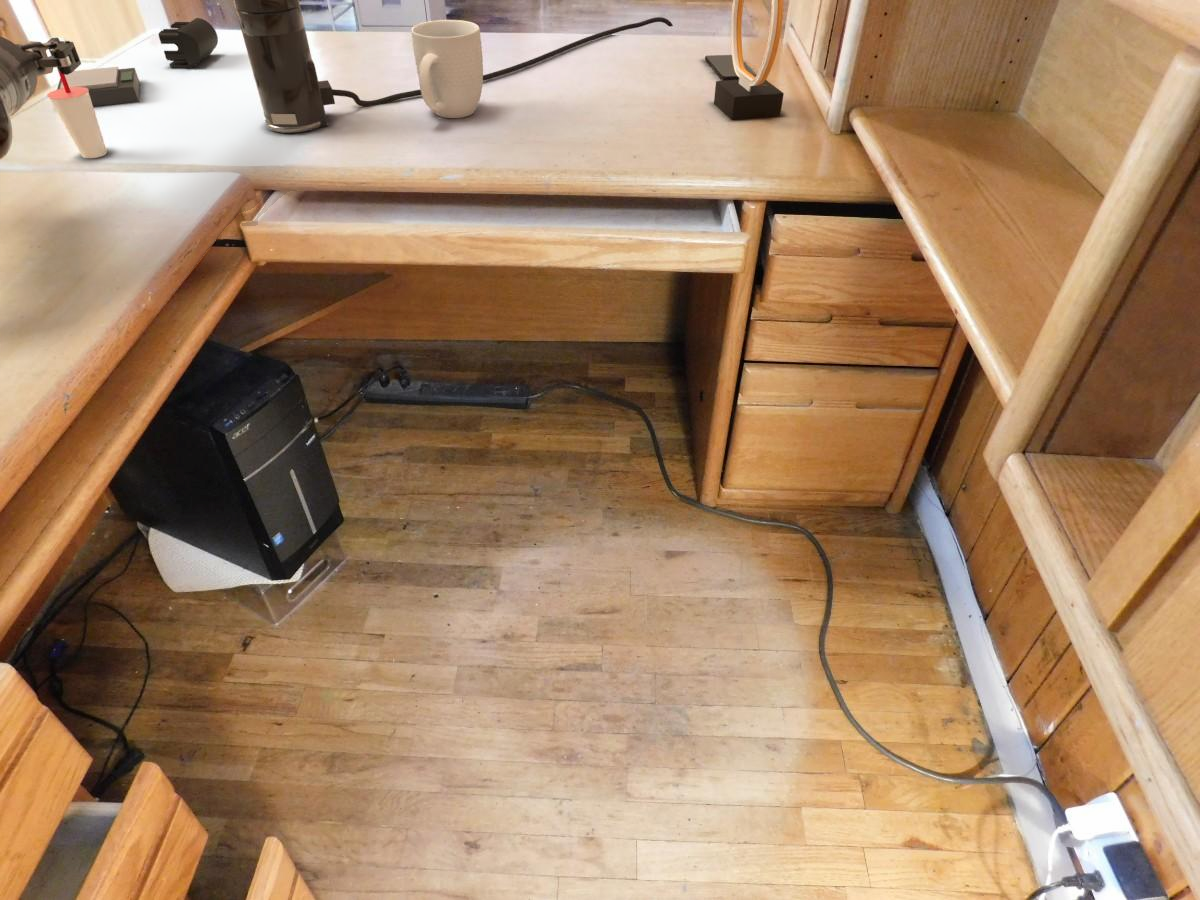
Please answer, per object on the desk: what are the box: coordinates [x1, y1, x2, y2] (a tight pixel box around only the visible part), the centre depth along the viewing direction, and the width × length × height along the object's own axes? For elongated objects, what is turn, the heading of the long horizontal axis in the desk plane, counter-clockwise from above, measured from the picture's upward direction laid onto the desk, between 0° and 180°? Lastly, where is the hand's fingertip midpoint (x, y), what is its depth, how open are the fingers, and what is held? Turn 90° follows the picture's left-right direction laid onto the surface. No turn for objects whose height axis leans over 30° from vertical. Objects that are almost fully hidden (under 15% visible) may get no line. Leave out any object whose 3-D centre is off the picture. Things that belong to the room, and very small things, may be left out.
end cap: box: [158, 17, 219, 69], centre depth 151 cm, size 10×7×7 cm
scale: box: [56, 66, 141, 108], centre depth 136 cm, size 12×12×3 cm
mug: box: [410, 19, 484, 119], centre depth 127 cm, size 15×11×13 cm
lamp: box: [713, 0, 785, 121], centre depth 124 cm, size 17×9×32 cm, turn 14°
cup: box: [46, 70, 108, 159], centre depth 113 cm, size 5×5×12 cm
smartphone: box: [704, 54, 757, 81], centre depth 151 cm, size 7×1×15 cm
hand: (20, 49), depth 96 cm, fingers open, 8 cm apart
